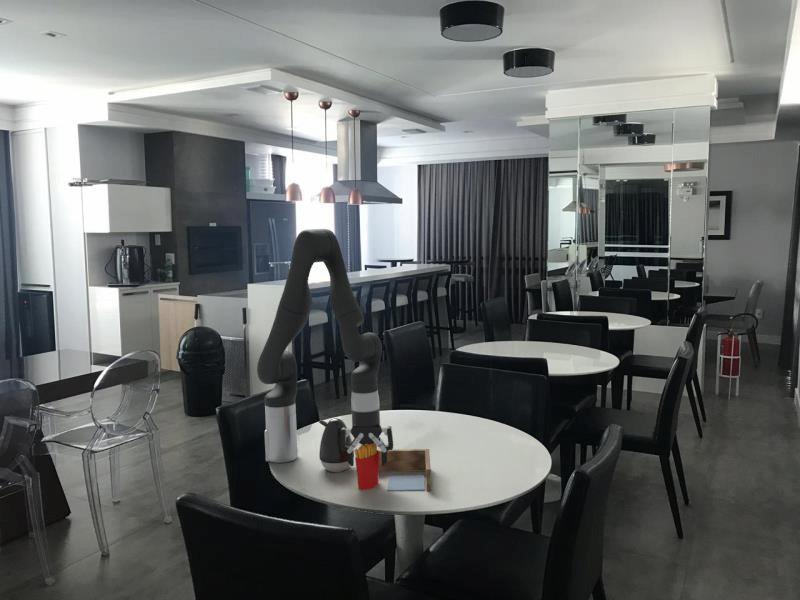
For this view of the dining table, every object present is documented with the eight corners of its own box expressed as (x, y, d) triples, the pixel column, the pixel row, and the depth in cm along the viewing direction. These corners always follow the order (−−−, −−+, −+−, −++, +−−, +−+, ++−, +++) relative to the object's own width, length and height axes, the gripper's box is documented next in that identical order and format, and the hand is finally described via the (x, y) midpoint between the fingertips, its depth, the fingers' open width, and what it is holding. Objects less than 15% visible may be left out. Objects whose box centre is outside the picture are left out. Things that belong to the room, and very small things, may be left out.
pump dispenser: (329, 461, 201) (327, 412, 199) (360, 464, 197) (358, 415, 195) (312, 473, 191) (310, 422, 189) (345, 477, 187) (343, 425, 186)
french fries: (372, 479, 185) (370, 437, 184) (383, 482, 183) (381, 440, 182) (352, 489, 179) (350, 446, 177) (363, 492, 176) (362, 448, 175)
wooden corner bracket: (357, 492, 176) (356, 470, 176) (362, 470, 192) (361, 450, 192) (431, 491, 176) (430, 469, 175) (429, 468, 192) (429, 448, 191)
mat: (387, 491, 177) (387, 489, 177) (388, 476, 187) (388, 475, 187) (424, 490, 177) (424, 489, 176) (424, 476, 186) (424, 475, 186)
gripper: (337, 411, 175) (340, 470, 176) (391, 409, 174) (393, 469, 176) (340, 404, 182) (343, 460, 184) (392, 402, 182) (394, 459, 184)
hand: (367, 464), depth 180 cm, fingers open, 8 cm apart
